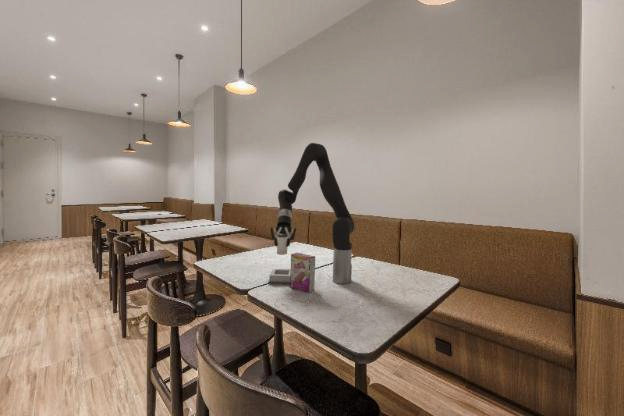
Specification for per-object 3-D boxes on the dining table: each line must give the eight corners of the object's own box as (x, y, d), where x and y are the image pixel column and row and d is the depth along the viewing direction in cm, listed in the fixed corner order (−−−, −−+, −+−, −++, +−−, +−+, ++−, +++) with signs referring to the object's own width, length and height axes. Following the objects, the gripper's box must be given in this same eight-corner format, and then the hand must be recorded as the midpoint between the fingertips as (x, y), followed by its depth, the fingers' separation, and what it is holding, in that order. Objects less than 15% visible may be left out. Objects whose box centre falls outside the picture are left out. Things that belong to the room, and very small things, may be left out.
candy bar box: (289, 287, 129) (290, 254, 127) (295, 284, 133) (296, 252, 132) (309, 293, 123) (310, 258, 121) (314, 289, 127) (315, 255, 126)
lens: (287, 252, 140) (288, 233, 139) (286, 254, 135) (287, 235, 134) (277, 251, 140) (277, 233, 139) (276, 254, 135) (276, 234, 134)
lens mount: (294, 276, 145) (294, 268, 144) (292, 284, 133) (292, 276, 132) (271, 275, 145) (271, 268, 144) (268, 284, 133) (268, 275, 132)
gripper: (270, 214, 144) (266, 241, 133) (297, 215, 144) (295, 242, 133) (272, 222, 149) (268, 249, 138) (298, 223, 149) (296, 250, 138)
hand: (281, 245), depth 136 cm, fingers closed on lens, 5 cm apart
